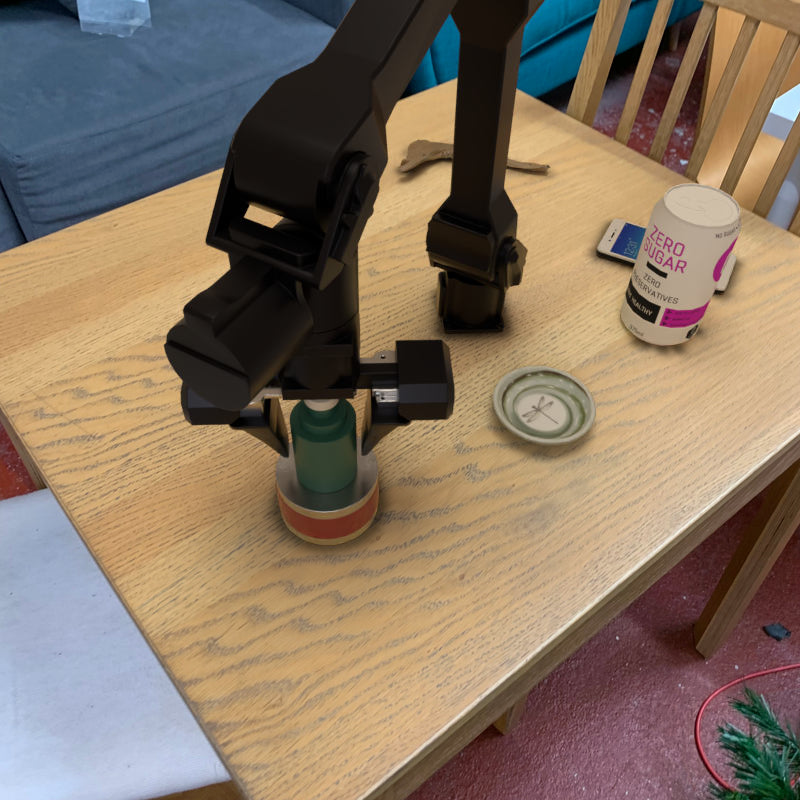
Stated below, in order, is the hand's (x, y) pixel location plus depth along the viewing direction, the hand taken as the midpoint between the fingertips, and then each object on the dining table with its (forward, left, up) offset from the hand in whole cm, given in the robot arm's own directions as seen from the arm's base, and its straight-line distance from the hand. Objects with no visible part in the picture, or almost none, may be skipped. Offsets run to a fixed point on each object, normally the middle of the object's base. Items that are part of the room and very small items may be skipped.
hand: (325, 452), depth 61 cm
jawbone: (-18, -51, -7) cm, 54 cm away
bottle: (0, 0, -2) cm, 2 cm away
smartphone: (-39, -33, -7) cm, 52 cm away
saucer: (-20, -9, -7) cm, 23 cm away
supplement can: (-35, -22, -7) cm, 42 cm away
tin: (0, 0, -7) cm, 7 cm away
